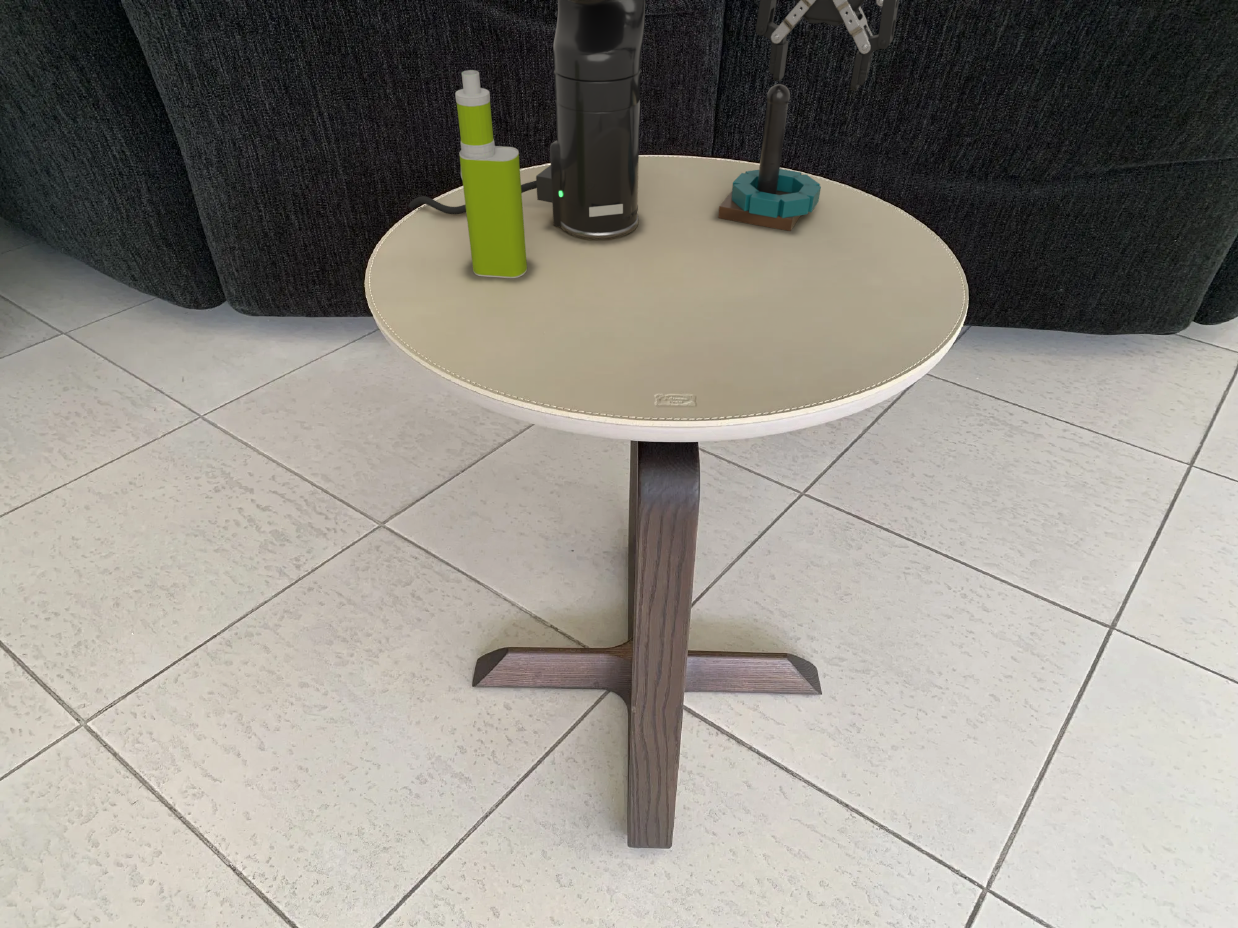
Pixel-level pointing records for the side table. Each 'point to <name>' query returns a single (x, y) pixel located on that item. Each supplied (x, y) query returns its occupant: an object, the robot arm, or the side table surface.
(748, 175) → the ring
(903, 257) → the side table surface
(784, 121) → the peg stand
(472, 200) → the vape
